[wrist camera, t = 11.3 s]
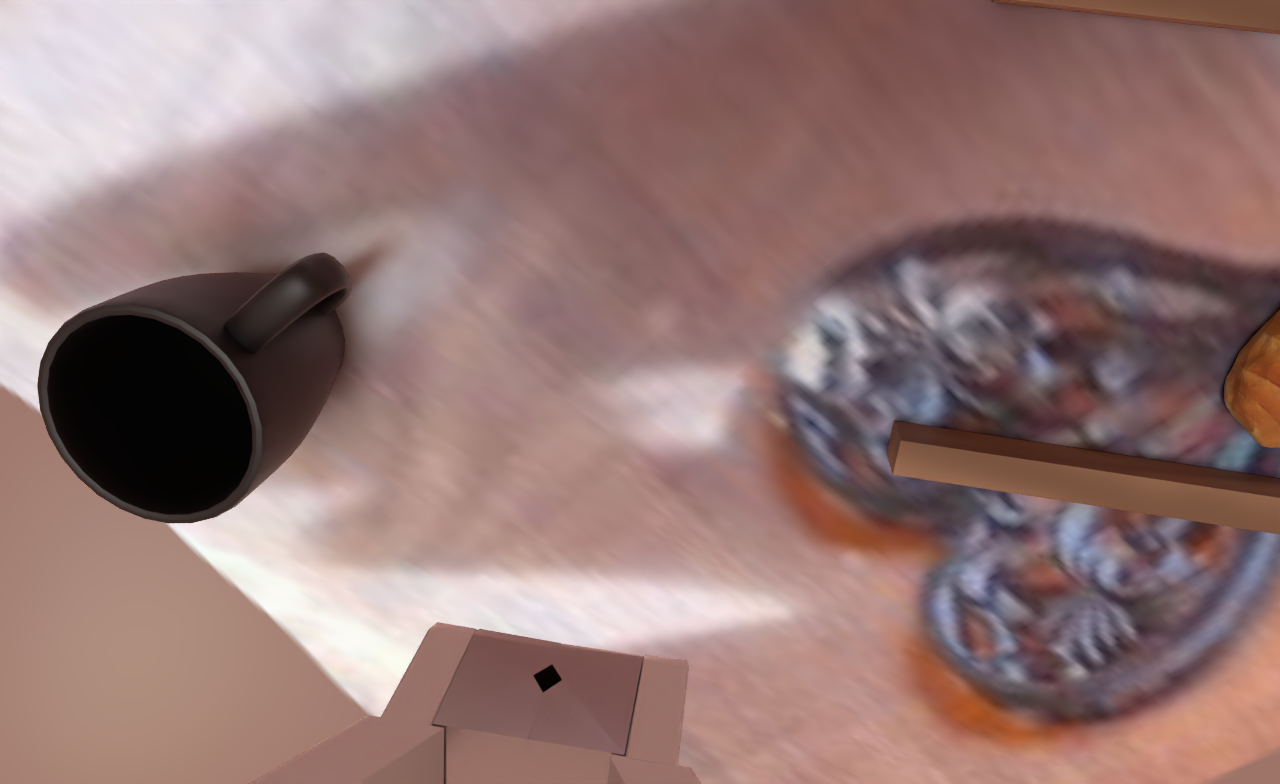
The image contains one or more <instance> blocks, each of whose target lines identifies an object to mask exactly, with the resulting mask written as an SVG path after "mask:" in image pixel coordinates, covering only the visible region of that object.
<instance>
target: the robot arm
mask: <svg viewBox="0 0 1280 784" xmlns="http://www.w3.org/2000/svg"><path fill="white" fill-rule="evenodd" d="M688 670H689V665H688V662H687V660H682V659H674V658H666V657H659V656H651V655H645V658H644V656H641V655H635V654H628V653H621V652H614V651H607V650H601V649H594V648H587V647H580V646H573V645H567V644H561V643H557V642H551V641H545V640H540V639H534V638H528V637H523V636H517V635H511V634H506V633H500V632H494V631H489V630H483V629H479V630H477V629H474V628H468V627H462V626H456V625H450V624H444V623H439V622H437V623H436V624H435V625H434V626H432V627H431V628H430V629H429V630H428V632H427V634H426V635H425V637H424V639H423V641H422V643H421V645H420V646H419V648H418V650H417V652H416V654H415V656H414V657H413V659H412V661H411V663H410V665H409V667H408V668H407V670H406V672H405V674H404V676H403V678H402V679H401V681H400V683H399V685H398V687H397V688H396V690H395V692H394V694H393V696H392V698H391V699H390V701H389V703H388V705H387V707H386V709H385V710H384V712H383V714H382V716H381V717H375V716H366V717H365V718H363V719H361V720H359V721H358V722H356V723H354V724H352V725H351V726H349V727H347V728H345V729H344V730H342V731H340V732H338V733H337V734H335V735H333V736H332V737H330V738H328V739H326V740H324V741H323V742H321V743H319V744H317V745H316V746H314V747H312V748H310V749H309V750H307V751H305V752H303V753H302V754H300V755H298V756H296V757H294V758H293V759H291V760H289V761H287V762H286V763H284V764H282V765H281V766H279V767H277V768H276V769H273V770H272V771H270V772H268V773H266V774H265V775H263V776H261V777H260V778H258V779H256V780H254V781H252V782H251V783H249V784H701V783H700V781H699V780H698V778H697V777H696V775H695V774H694V772H693V770H692V769H691V768H689V767H684V766H678V759H679V750H680V741H681V732H682V723H683V714H684V705H685V696H686V687H687V679H688Z"/></svg>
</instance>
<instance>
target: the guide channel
mask: <svg viewBox="0 0 1280 784" xmlns="http://www.w3.org/2000/svg"><path fill="white" fill-rule="evenodd" d="M993 2H999V3H1008V4H1016V5H1025V6H1034V7H1043V8H1052V9H1061V10H1070V11H1079V12H1087V13H1096V14H1105V15H1114V16H1123V17H1132V18H1141V19H1149V20H1158V21H1167V22H1176V23H1185V24H1194V25H1203V26H1211V27H1220V28H1229V29H1238V30H1247V31H1256V32H1265V33H1273V34H1280V0H993ZM887 456H888V460H889V463H890V467H891V470H892V473H893V475H900V476H906V477H913V478H919V479H925V480H932V481H938V482H945V483H951V484H958V485H964V486H971V487H977V488H984V489H990V490H997V491H1003V492H1010V493H1016V494H1022V495H1029V496H1035V497H1042V498H1048V499H1055V500H1061V501H1068V502H1074V503H1081V504H1087V505H1094V506H1100V507H1107V508H1113V509H1120V510H1126V511H1132V512H1139V513H1145V514H1152V515H1158V516H1165V517H1171V518H1178V519H1184V520H1191V521H1197V522H1204V523H1210V524H1217V525H1223V526H1229V527H1236V528H1242V529H1249V530H1255V531H1262V532H1268V533H1275V534H1280V479H1279V478H1273V477H1266V476H1259V475H1253V474H1246V473H1239V472H1233V471H1226V470H1219V469H1213V468H1206V467H1199V466H1193V465H1186V464H1179V463H1173V462H1166V461H1159V460H1153V459H1146V458H1139V457H1133V456H1126V455H1119V454H1113V453H1106V452H1099V451H1093V450H1086V449H1079V448H1073V447H1066V446H1059V445H1053V444H1046V443H1039V442H1033V441H1026V440H1019V439H1013V438H1006V437H999V436H993V435H986V434H979V433H973V432H966V431H959V430H953V429H946V428H939V427H933V426H926V425H919V424H913V423H906V422H899V421H894V424H893V428H892V433H891V437H890V441H889V446H888V450H887Z"/></svg>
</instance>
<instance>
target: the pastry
mask: <svg viewBox="0 0 1280 784" xmlns="http://www.w3.org/2000/svg"><path fill="white" fill-rule="evenodd" d="M1224 401H1225V404H1226V406H1227V408H1228V409H1229V410H1230V412H1231V414H1232V416H1233V417H1234V418H1235V419H1236V420H1237V421H1238V422H1239V423H1240V424H1241V425H1242V426H1243V427H1244V428H1245V429H1246V430H1247V431H1248V432H1249V433H1250V435H1251V436H1252V437H1253V438H1254V440H1255V441H1257V442H1258V443H1259V444H1260V445H1262V446H1264V447H1269V448H1274V447H1276V448H1280V309H1279V311H1278V312H1277V313H1276V314H1275V315H1274V316H1273V317H1272V318H1271V319H1270V320H1269V321H1267V322H1266V323H1265V324H1264V325H1263V326H1262V327H1261V328H1260V330H1259V331H1258V332H1257V333H1256V334H1255V335H1254V336H1253V337H1252V338H1251V339H1250V341H1249V342H1248V343H1247V344H1246V345H1245V346H1244V347H1243V349H1242V350H1241V351H1240V352H1239V354H1238V356H1237V358H1236V361H1235V363H1234V365H1233V367H1232V369H1231V371H1230V372H1229V374H1228V376H1227V378H1226V380H1225V386H1224Z"/></svg>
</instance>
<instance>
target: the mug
mask: <svg viewBox="0 0 1280 784" xmlns="http://www.w3.org/2000/svg"><path fill="white" fill-rule="evenodd" d="M350 291H351V281H350V278H349V275H348V273H347V272H346V270H345V269H344V267H343V266H342V265H341V264H340V263H339V262H338V261H337V260H336V259H335V258H334V257H332V256H330V255H328V254H327V253H318V254H313V255H310V256H307V257H305V258H303V259H301V260H299V261H297V262H296V263H294V264H292V265H291V266H289V267H288V268H286V269H285V270H283V271H282V272H281V273H279V274H255V273H238V272H236V273H212V274H198V275H190V276H182V277H177V278H173V279H168V280H163V281H160V282H157V283H154V284H150V285H147V286H144V287H141V288H138V289H136V290H133V291H130V292H128V293H125V294H122V295H120V296H117V297H115V298H112V299H110V300H107V301H105V302H102V303H100V304H97V305H95V306H92V307H90V308H87V309H85V310H83V311H81V312H80V313H78V314H77V315H75V316H74V317H72V318H71V319H69V320H68V321H66V322H65V323H64V324H63V325H62V326H61V328H60V329H59V330H58V331H57V333H56V334H55V335H54V336H53V338H52V339H51V340H50V341H49V343H48V345H47V348H46V350H45V353H44V355H43V357H42V360H41V362H40V369H39V377H38V395H39V403H40V411H41V414H42V417H43V419H44V422H45V425H46V428H47V431H48V434H49V436H50V438H51V440H52V441H53V443H54V445H55V447H56V448H57V450H58V452H59V454H60V455H61V457H62V458H63V460H64V461H65V462H66V463H67V464H68V466H69V467H70V468H71V469H72V471H74V473H75V474H76V475H77V477H78V478H79V479H80V480H82V481H83V482H84V483H85V484H86V485H87V486H88V487H90V488H91V489H92V490H93V491H94V492H95V493H96V494H98V495H99V496H101V497H102V498H104V499H105V500H107V501H109V502H110V503H112V504H114V505H115V506H117V507H118V508H120V509H122V510H125V511H127V512H130V513H132V514H135V515H137V516H140V517H142V518H145V519H150V520H155V521H160V522H165V523H194V522H198V521H202V520H206V519H210V518H214V517H217V516H219V515H221V514H222V513H224V512H226V511H228V510H230V509H232V508H233V507H235V506H236V505H238V504H239V503H240V502H241V501H242V500H243V499H244V498H246V497H247V496H248V495H249V494H250V493H251V492H252V491H253V490H255V489H256V488H257V487H258V486H259V485H260V484H261V483H263V482H264V481H265V480H266V479H267V478H268V477H269V476H270V475H271V474H272V473H273V472H275V471H276V470H277V469H278V468H279V467H280V466H281V465H282V464H283V463H284V462H285V461H286V460H287V459H288V458H289V457H290V456H291V455H292V454H293V452H294V451H295V450H296V449H297V447H298V446H299V445H300V444H301V442H302V441H303V440H304V438H305V437H306V435H307V434H308V432H309V430H310V429H311V427H312V426H313V424H314V422H315V421H316V419H317V417H318V415H319V414H320V412H321V410H322V408H323V406H324V404H325V402H326V400H327V398H328V396H329V393H330V391H331V389H332V386H333V383H334V380H335V378H336V375H337V373H338V371H339V369H340V368H341V365H342V361H343V357H344V348H345V340H344V335H343V330H342V326H341V324H340V321H339V319H338V317H337V314H336V313H335V311H334V309H335V308H336V307H338V306H339V305H340V304H341V303H342V302H343V301H344V300H345V299H346V298H347V297H348V296H349V294H350Z"/></svg>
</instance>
